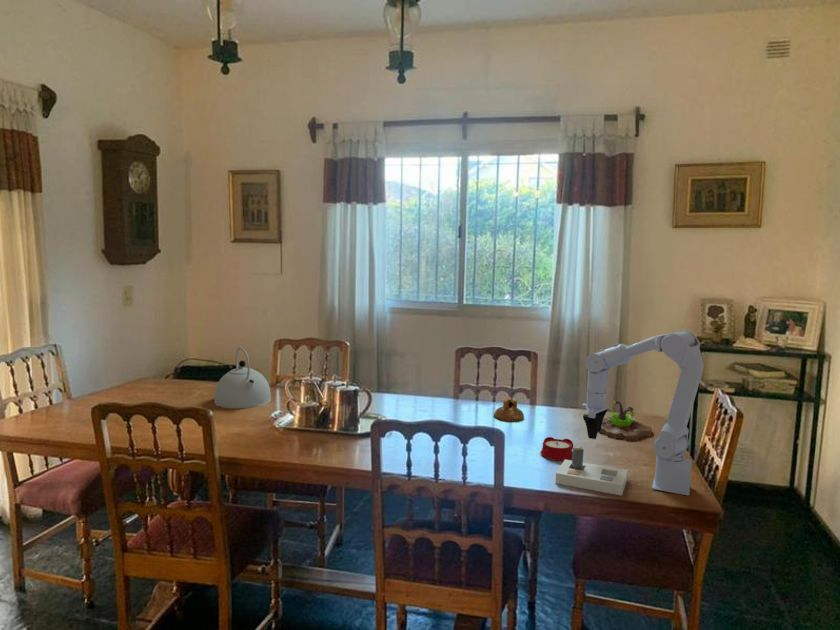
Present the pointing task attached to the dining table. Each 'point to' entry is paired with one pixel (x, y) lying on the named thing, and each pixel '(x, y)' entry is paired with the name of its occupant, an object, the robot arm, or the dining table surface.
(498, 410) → the brown pouch
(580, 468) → the plug
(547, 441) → the alarm clock
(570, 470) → the socket block
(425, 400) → the dining table surface
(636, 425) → the plant
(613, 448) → the dining table surface
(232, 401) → the kettle
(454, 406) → the dining table surface
